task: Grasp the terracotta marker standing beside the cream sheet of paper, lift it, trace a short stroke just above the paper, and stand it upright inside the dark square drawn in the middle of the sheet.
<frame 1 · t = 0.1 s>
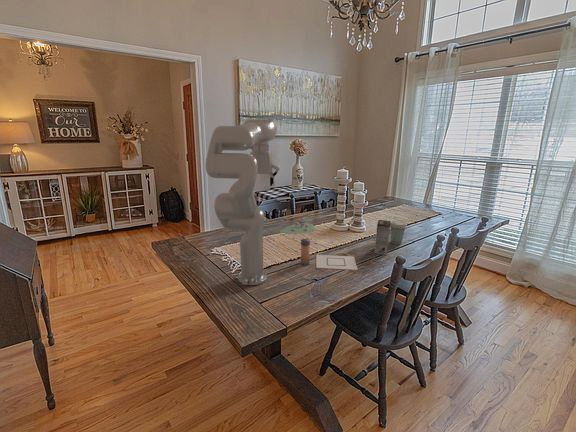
hand: (261, 185, 145), 37 cm above the table, tool pointing down, fingers open, 9 cm apart
paper sheet: (335, 262, 149), on the table
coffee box: (381, 251, 163), on the table
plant: (297, 230, 198), on the table
coffee cup: (396, 243, 175), on the table
marker: (304, 263, 147), on the table
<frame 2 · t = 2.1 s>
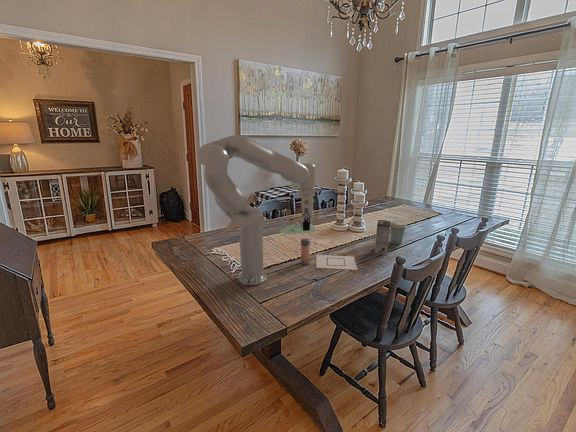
hand: (306, 226, 142), 19 cm above the table, tool pointing down, fingers open, 9 cm apart
nothing on the table moved.
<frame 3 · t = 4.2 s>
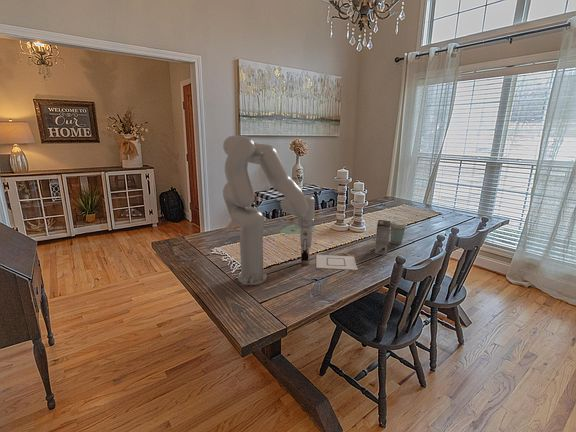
hand: (305, 258, 146), 3 cm above the table, tool pointing down, fingers closed on marker, 4 cm apart
marker: (305, 263, 147), on the table, touching gripper
everything else where it was.
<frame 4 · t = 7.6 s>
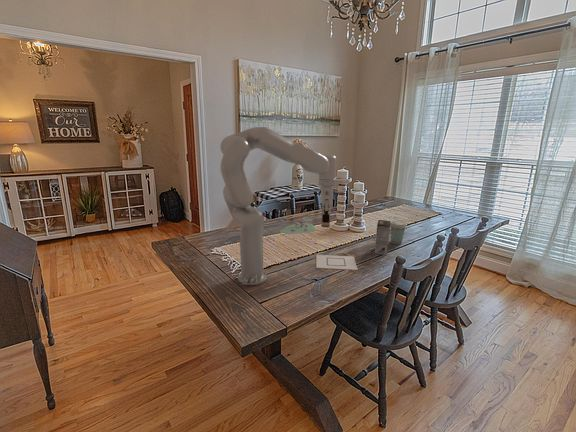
hand: (325, 220, 143), 21 cm above the table, tool pointing down, fingers closed on marker, 4 cm apart
marker: (325, 226, 144), point 18 cm above the table, touching gripper
everything else where it was.
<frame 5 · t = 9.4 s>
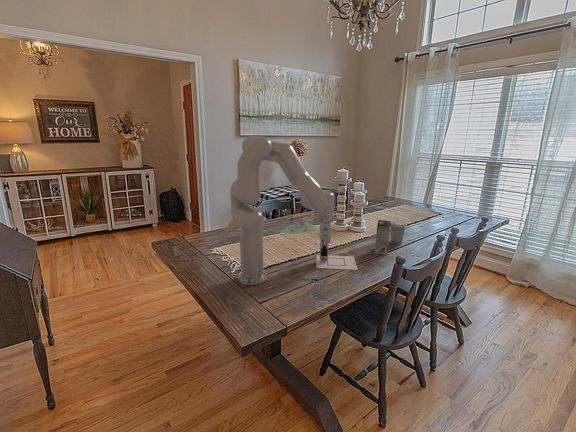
hand: (324, 253, 148), 4 cm above the table, tool pointing down, fingers closed on marker, 4 cm apart
marker: (323, 258, 149), point 1 cm above the table, touching gripper
everything else where it was.
when the fingers open (4 cm above the table, at t = 11.2 s): marker stays where it is, resting on paper sheet.
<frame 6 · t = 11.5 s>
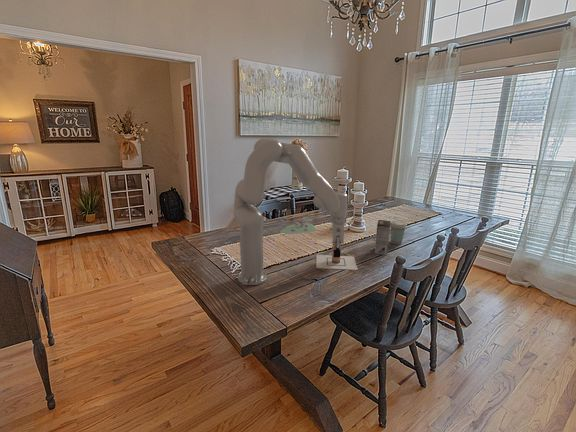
hand: (336, 253, 147), 5 cm above the table, tool pointing down, fingers open, 7 cm apart
marker: (335, 261, 148), resting on paper sheet
everything else where it was.
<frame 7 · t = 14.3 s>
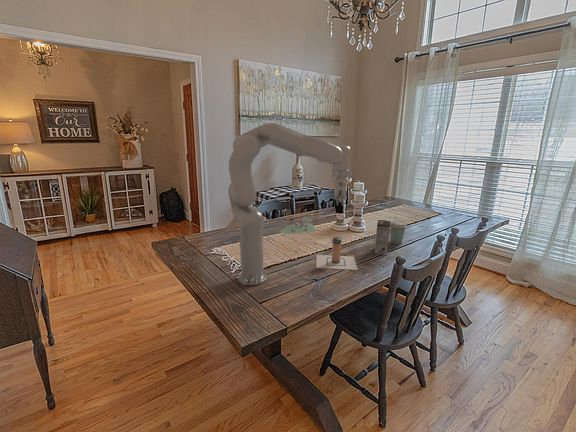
hand: (338, 210, 141), 26 cm above the table, tool pointing down, fingers open, 9 cm apart
nothing on the table moved.
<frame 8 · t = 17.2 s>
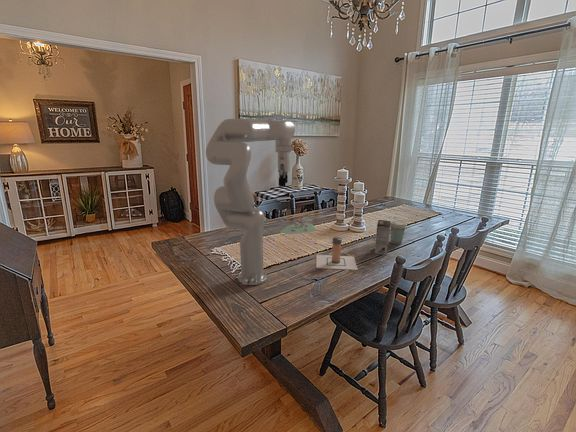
hand: (283, 184, 150), 36 cm above the table, tool pointing down, fingers open, 9 cm apart
nothing on the table moved.
at the end: marker 0.0 cm off-centre on the paper sheet, point 0.3 cm above the paper sheet's base; marker tilted 0°; the gripper is holding nothing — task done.
